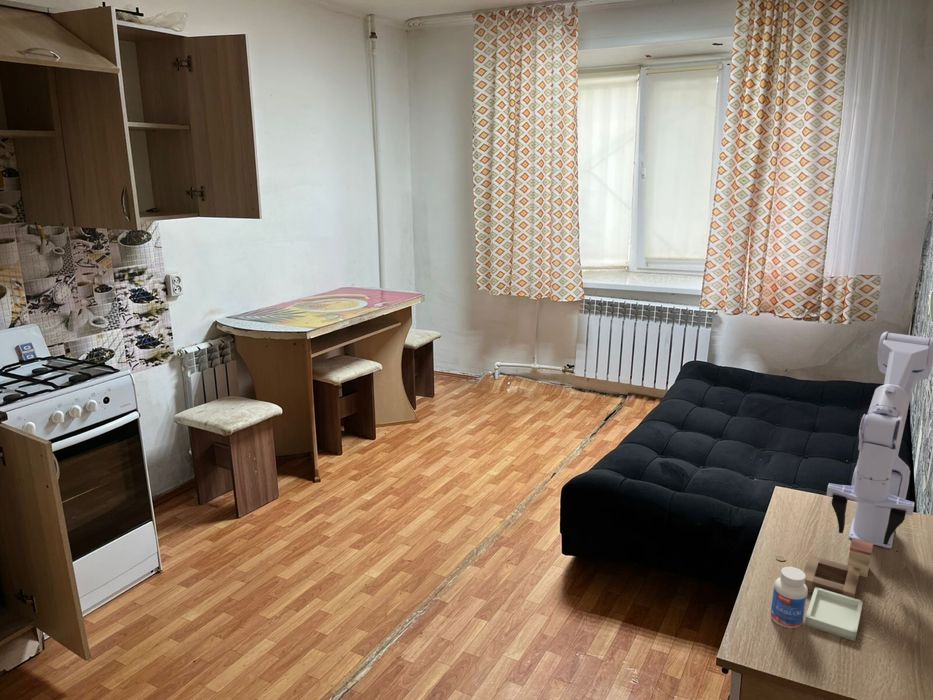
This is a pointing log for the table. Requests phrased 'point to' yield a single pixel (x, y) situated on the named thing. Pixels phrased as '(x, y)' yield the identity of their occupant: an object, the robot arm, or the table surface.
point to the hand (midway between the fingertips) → (863, 536)
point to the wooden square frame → (831, 570)
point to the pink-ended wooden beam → (860, 556)
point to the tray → (834, 613)
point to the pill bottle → (789, 598)
